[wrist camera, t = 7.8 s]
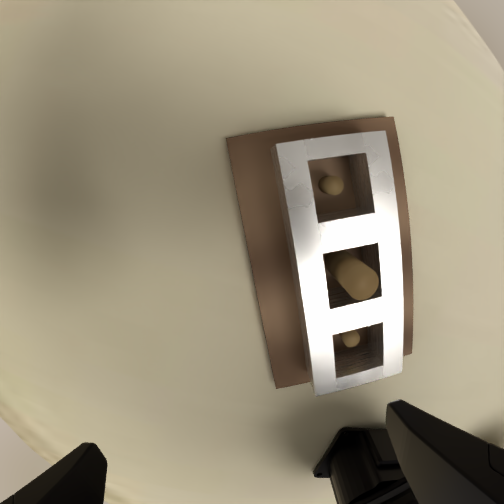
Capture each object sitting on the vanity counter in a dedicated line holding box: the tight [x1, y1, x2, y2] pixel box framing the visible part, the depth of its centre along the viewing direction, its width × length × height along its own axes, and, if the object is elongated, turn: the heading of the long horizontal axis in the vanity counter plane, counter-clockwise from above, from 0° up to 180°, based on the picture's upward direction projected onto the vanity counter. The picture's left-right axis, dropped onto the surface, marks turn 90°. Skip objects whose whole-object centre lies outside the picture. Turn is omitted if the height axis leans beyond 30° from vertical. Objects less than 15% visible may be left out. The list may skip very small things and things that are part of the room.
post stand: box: [226, 117, 413, 389], centre depth 17 cm, size 16×10×5 cm, turn 11°
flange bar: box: [270, 131, 404, 396], centre depth 17 cm, size 14×6×3 cm, turn 11°
